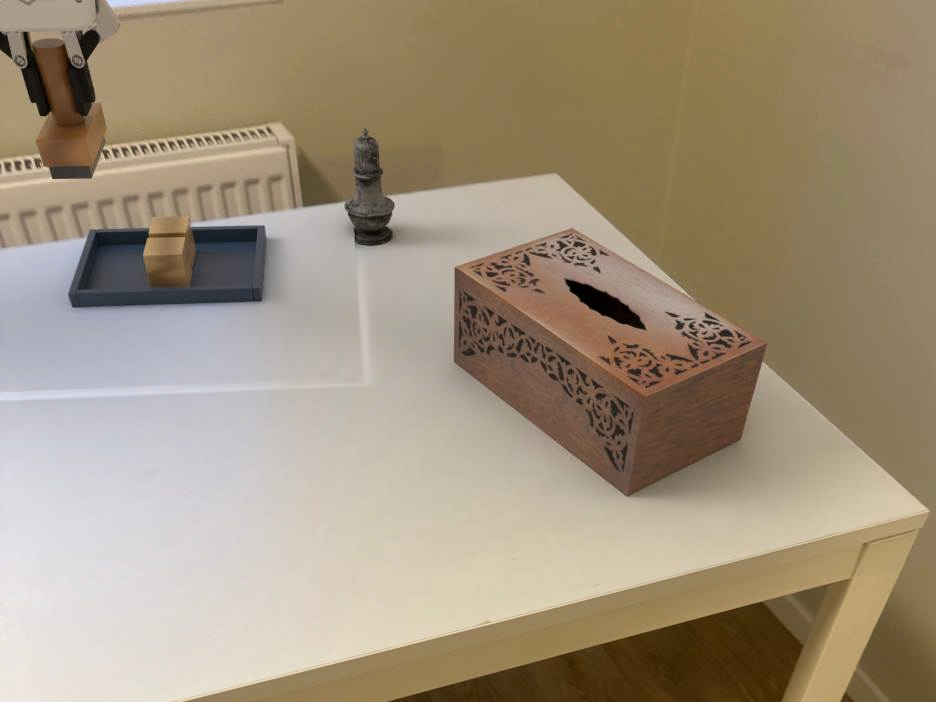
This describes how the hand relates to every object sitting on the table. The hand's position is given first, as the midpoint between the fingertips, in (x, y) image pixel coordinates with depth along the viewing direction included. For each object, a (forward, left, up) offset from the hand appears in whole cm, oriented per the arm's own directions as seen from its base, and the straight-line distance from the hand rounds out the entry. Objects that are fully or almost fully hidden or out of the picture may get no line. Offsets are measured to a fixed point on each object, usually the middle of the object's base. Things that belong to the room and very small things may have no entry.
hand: (66, 108), depth 89 cm
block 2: (+6, +2, -18) cm, 19 cm away
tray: (+6, +5, -19) cm, 20 cm away
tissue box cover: (+48, -22, -19) cm, 56 cm away
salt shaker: (+28, +14, -19) cm, 36 cm away
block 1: (+6, +7, -18) cm, 20 cm away
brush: (0, 0, -5) cm, 5 cm away
